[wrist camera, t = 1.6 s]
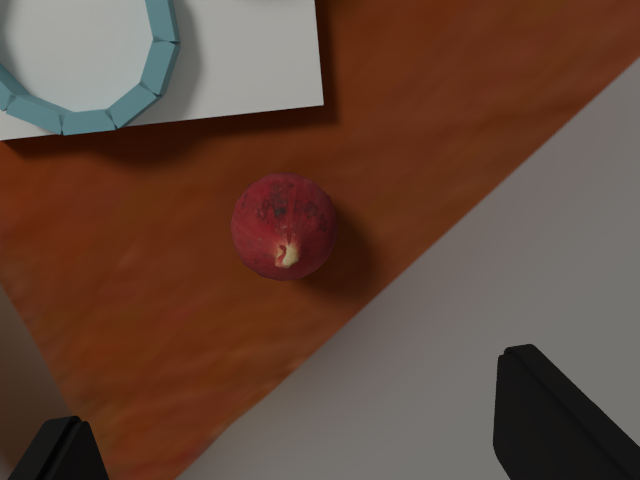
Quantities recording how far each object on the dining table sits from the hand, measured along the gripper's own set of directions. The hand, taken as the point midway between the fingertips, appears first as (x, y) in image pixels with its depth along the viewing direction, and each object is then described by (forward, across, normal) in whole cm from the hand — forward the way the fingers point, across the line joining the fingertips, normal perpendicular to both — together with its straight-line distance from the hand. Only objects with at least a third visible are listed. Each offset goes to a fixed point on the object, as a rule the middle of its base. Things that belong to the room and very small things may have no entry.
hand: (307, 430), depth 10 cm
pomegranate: (+19, 0, 0) cm, 19 cm away
